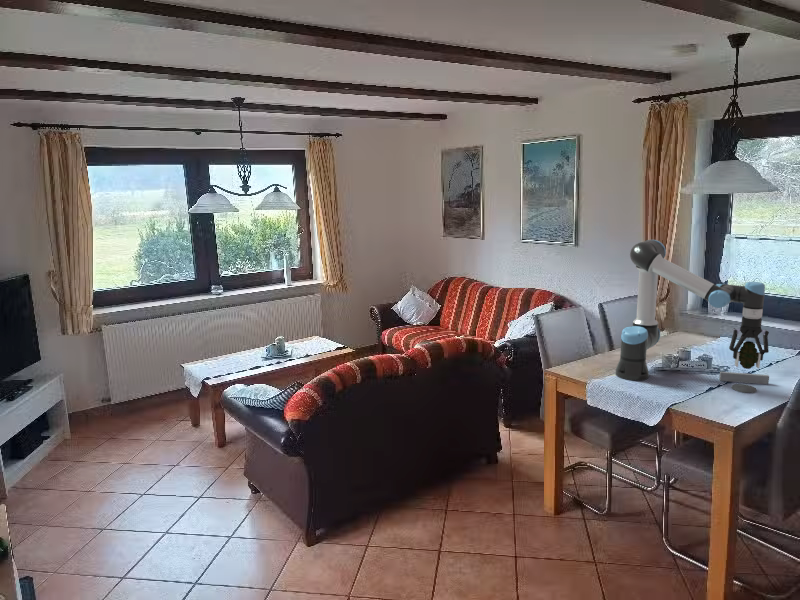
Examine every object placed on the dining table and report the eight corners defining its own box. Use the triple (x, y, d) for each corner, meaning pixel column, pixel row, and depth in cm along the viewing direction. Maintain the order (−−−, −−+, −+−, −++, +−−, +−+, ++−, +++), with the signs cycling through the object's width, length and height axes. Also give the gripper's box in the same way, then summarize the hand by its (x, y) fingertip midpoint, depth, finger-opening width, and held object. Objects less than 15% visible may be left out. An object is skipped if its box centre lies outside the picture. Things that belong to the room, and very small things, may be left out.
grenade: (759, 371, 257) (762, 344, 254) (740, 370, 258) (743, 344, 256) (752, 365, 264) (755, 340, 262) (734, 364, 266) (736, 339, 263)
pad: (734, 392, 260) (734, 390, 260) (729, 384, 270) (729, 383, 269) (759, 394, 257) (759, 392, 257) (753, 386, 267) (753, 385, 266)
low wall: (719, 380, 274) (720, 372, 274) (719, 379, 276) (720, 371, 275) (768, 384, 268) (769, 376, 268) (767, 383, 270) (768, 375, 269)
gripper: (727, 318, 256) (723, 367, 261) (781, 320, 250) (775, 370, 254) (724, 314, 263) (719, 362, 268) (776, 316, 257) (770, 365, 261)
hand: (746, 366), depth 261 cm, fingers closed on grenade, 8 cm apart
